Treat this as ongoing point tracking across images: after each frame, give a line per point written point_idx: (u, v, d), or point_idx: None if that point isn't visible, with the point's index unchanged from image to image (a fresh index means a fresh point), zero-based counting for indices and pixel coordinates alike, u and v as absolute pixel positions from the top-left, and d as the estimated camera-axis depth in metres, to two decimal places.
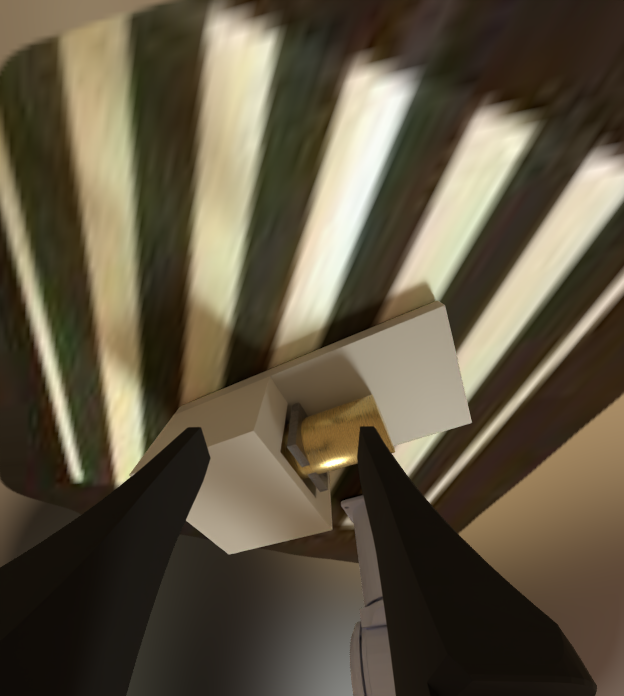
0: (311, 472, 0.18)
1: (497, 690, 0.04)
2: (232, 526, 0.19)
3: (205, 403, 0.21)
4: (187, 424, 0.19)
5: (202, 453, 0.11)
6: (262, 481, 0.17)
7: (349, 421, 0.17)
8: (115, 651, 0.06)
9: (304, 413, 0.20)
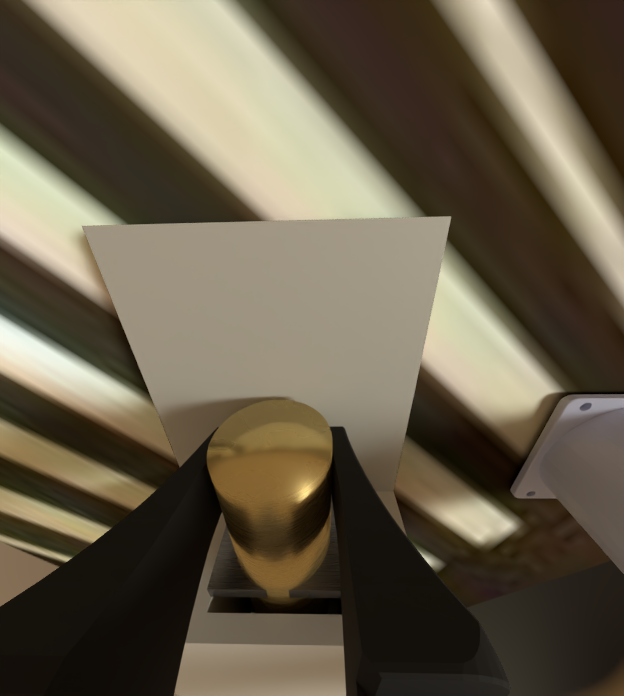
0: (286, 593, 0.10)
1: (411, 688, 0.04)
2: (335, 693, 0.12)
3: None
4: None
5: None
6: (239, 660, 0.10)
7: None
8: (165, 652, 0.06)
9: None
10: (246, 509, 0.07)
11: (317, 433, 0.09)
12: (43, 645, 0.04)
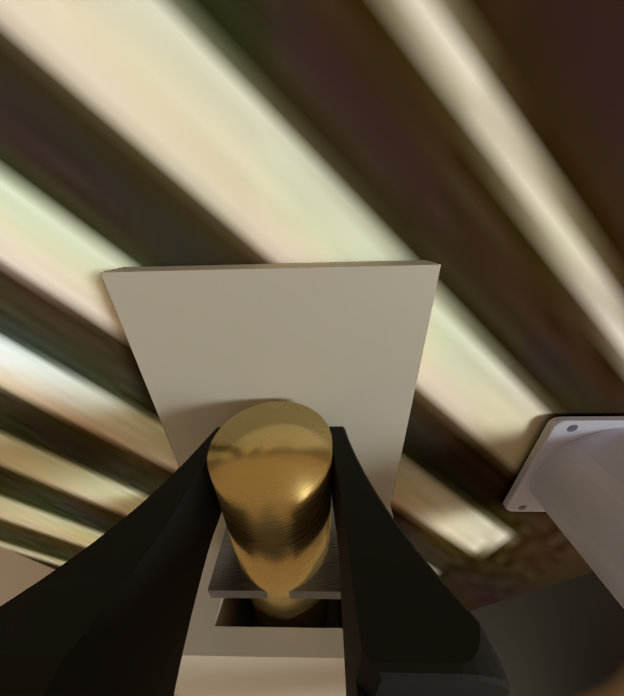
0: (286, 594, 0.10)
1: (411, 688, 0.04)
2: None
3: None
4: None
5: None
6: (245, 670, 0.11)
7: None
8: (165, 652, 0.06)
9: None
10: (246, 511, 0.07)
11: (317, 435, 0.09)
12: (43, 645, 0.04)
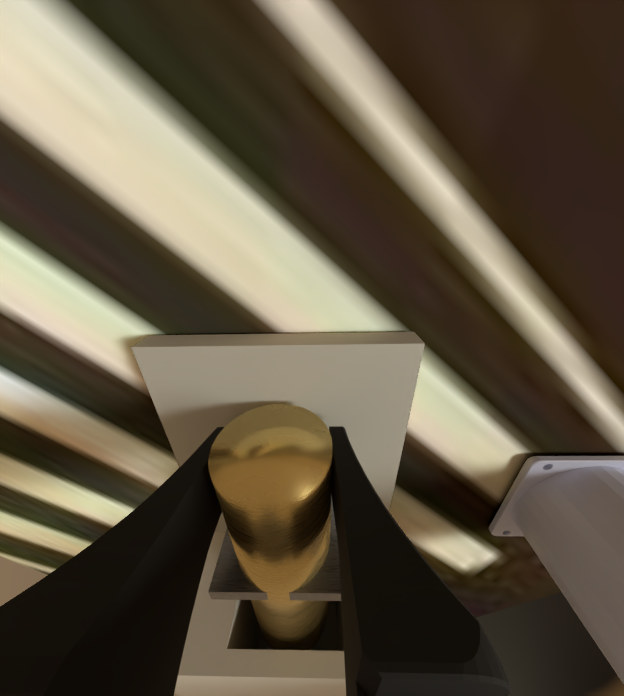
0: (287, 596, 0.10)
1: (411, 688, 0.04)
2: None
3: None
4: None
5: None
6: (254, 688, 0.12)
7: None
8: (165, 652, 0.06)
9: None
10: (247, 514, 0.07)
11: (317, 438, 0.09)
12: (43, 645, 0.04)
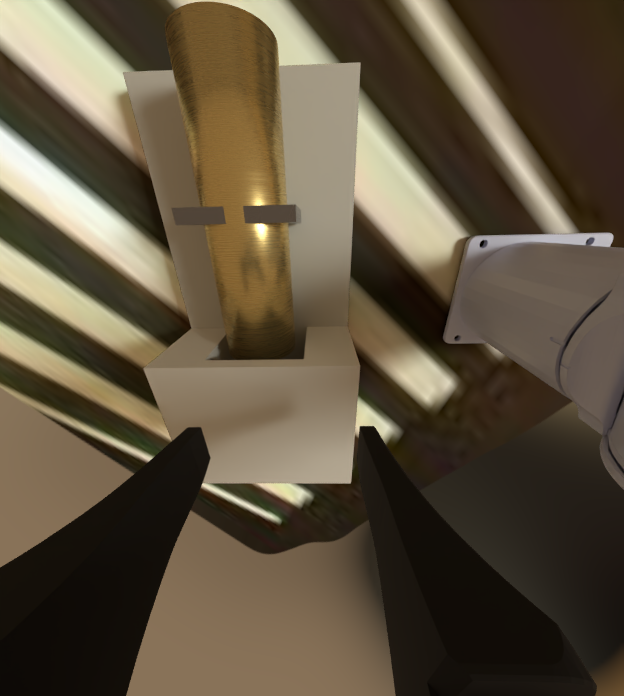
0: (241, 213, 0.11)
1: (497, 690, 0.04)
2: (299, 456, 0.16)
3: None
4: None
5: (202, 453, 0.11)
6: (227, 396, 0.14)
7: (180, 106, 0.10)
8: (115, 651, 0.06)
9: None
10: (194, 25, 0.08)
11: None
12: None
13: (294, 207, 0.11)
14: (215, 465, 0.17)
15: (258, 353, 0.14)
